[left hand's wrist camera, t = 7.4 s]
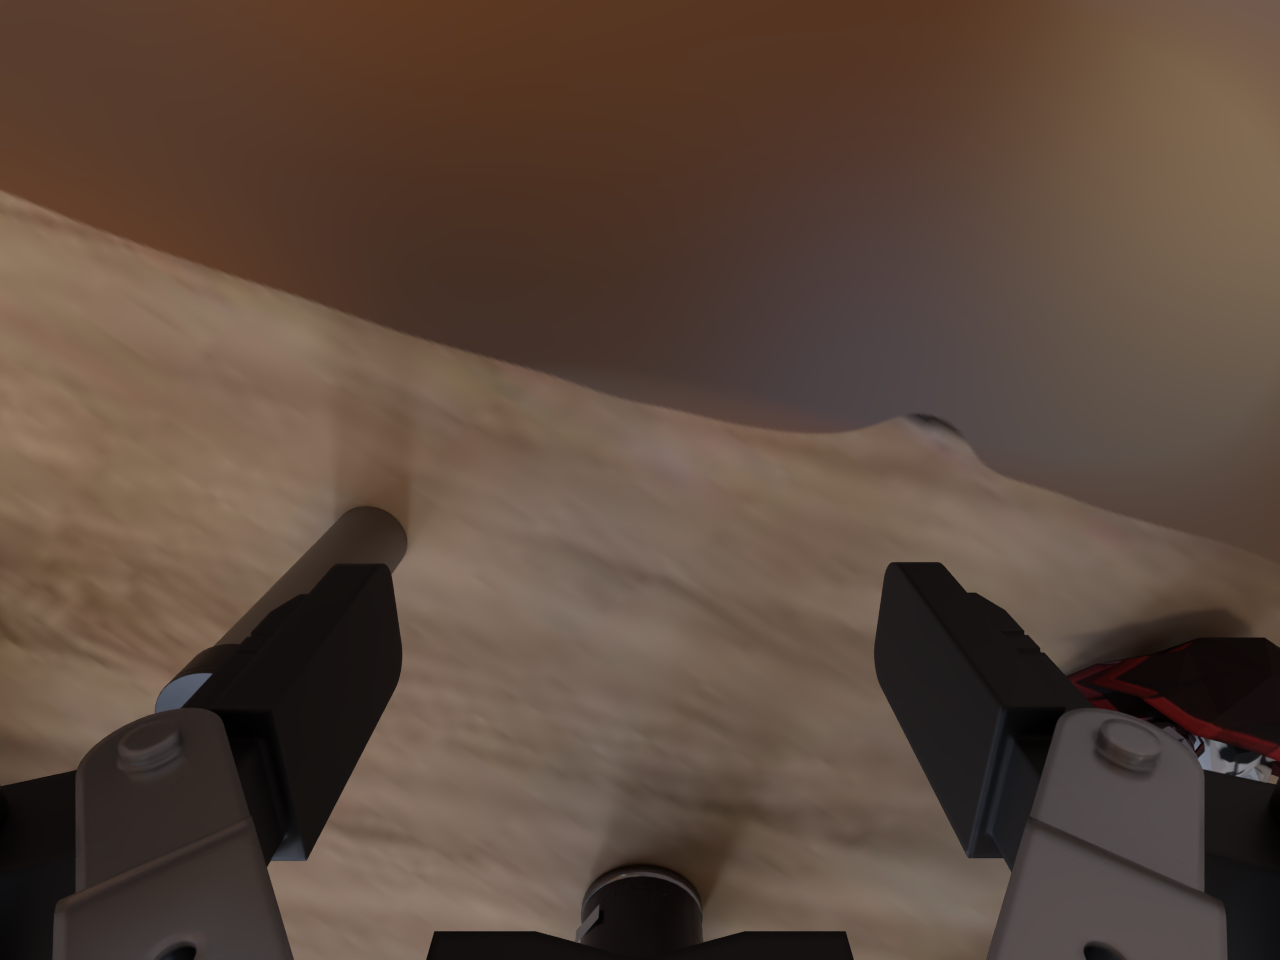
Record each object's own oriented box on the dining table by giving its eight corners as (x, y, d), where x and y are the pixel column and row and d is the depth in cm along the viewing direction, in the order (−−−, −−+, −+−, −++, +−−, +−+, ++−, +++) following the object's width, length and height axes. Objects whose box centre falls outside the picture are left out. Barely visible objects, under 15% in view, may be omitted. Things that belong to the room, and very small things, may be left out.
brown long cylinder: (329, 506, 42) (155, 670, 27) (402, 506, 42) (269, 670, 27) (340, 571, 44) (182, 760, 29) (411, 571, 44) (290, 760, 29)
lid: (172, 643, 29) (140, 672, 27) (292, 642, 29) (268, 672, 27) (200, 739, 30) (171, 773, 28) (313, 738, 30) (292, 772, 28)
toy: (1159, 867, 36) (1449, 780, 35) (1068, 684, 39) (1332, 601, 38) (1059, 829, 47) (1278, 763, 46) (996, 690, 50) (1199, 626, 50)
